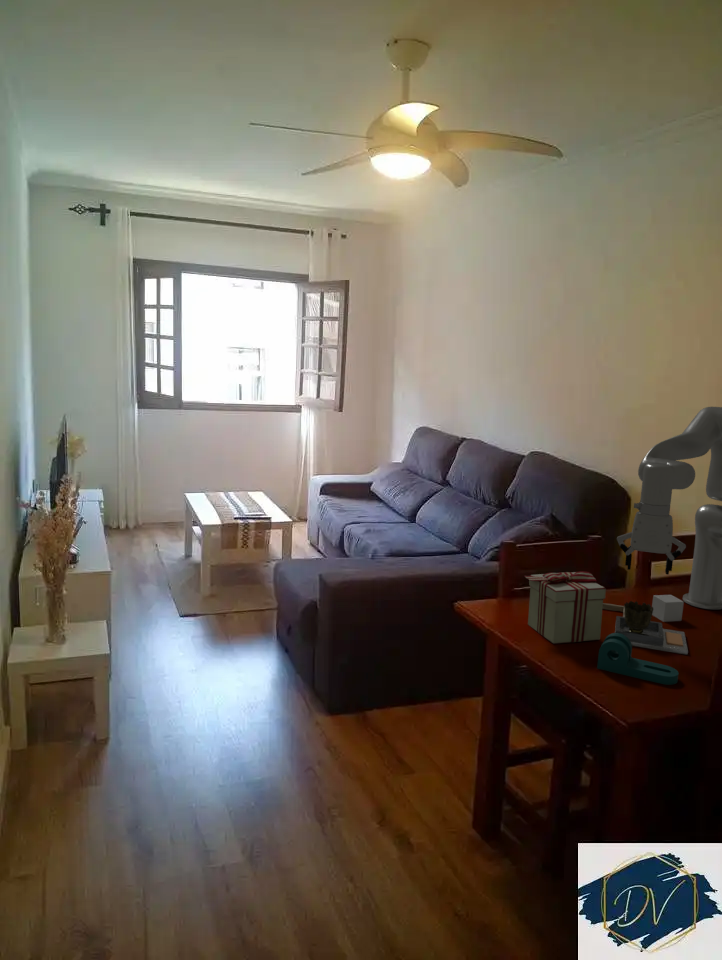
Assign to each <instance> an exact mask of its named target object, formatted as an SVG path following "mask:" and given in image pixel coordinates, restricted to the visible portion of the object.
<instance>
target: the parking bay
mask: <svg viewBox="0 0 722 960" xmlns="http://www.w3.org/2000/svg"><path fill="white" fill-rule="evenodd" d="M602 610H609V611H616V612H621V613H622V617H625V606H624V605H620V604H619V605H617V604H613V603H604V602H603V607H602Z"/></svg>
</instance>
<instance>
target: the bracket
mask: <svg viewBox="0 0 722 960" xmlns="http://www.w3.org/2000/svg"><path fill="white" fill-rule="evenodd" d="M632 653H633V646H632V644H631V642H630V640H629V639H628V638H627V637H626V636H625V635H623V634H621V633H615V632H612V633H609V634H608V635H607V636H606V637H605V639H604V640H603V642H602V643H601V646H600V647H599V649H598V654H597V656H598V657H597V664H596V665H597V666H596V669H597V670H602V671H607V672H610V673H614V674H618V675H622V676H627V677H630V678H631V677H632V678H634V679H635V678H636V679H640V680H644V681H647V682H653V683H657V684H662V685H665V686H667V685H668V686H669V685H671V686H672V685H675V684H677V683H678V681H679V674H680V673H679V671H678V670H677V669H675V668H674V667H672V666H670V665H666V664H662V663H658V662H655V661H654V662H653V661H648V660H644V659H639V658H635V657H633V656H632Z"/></svg>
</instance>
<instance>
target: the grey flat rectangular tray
mask: <svg viewBox="0 0 722 960" xmlns="http://www.w3.org/2000/svg"><path fill="white" fill-rule="evenodd" d="M629 628H630V627H629V626H628V625H627V624H626V622H625V617H623V616H621V615H620V616H619V615H616V617H615V628H614V629H615V630H614V633H621V634H623V635H625V636H626V637H627V638H628V639H629V640H630V642H631V644H632V647H638V648H645V649H649V650H657V651H662V652H669V653H675V654H680V655H681V654H682V655H689V654H688V653H689V650H688V644H687V640H686V639H687V638H686V634H685V633H686V632H684V631H681V630H674V629H666V628H663V623H662V622H659V621H652V620H651V621H650V624H649V626H648V627H647V628H646V629H643V633H642V634H641V633H634V632H630V631H629Z"/></svg>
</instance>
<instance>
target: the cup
mask: <svg viewBox="0 0 722 960" xmlns="http://www.w3.org/2000/svg"><path fill="white" fill-rule="evenodd" d="M623 606H625V622H626V624H627V625H628V626H629V627H630V628H629V631H630V632H634V633H641V634H642V633H643V629H646V628H647V627H648V626H649V624H650V621H652V617H653V615H652V613H653V609H654V608H653V607H652V604H650V603H649V604H646V602H642V604H639V602H638V601H637V600H636V601H635V602H634V601H632V600H630V601H628V602H627V601H626V602H625V603H624V604H623Z"/></svg>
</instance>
